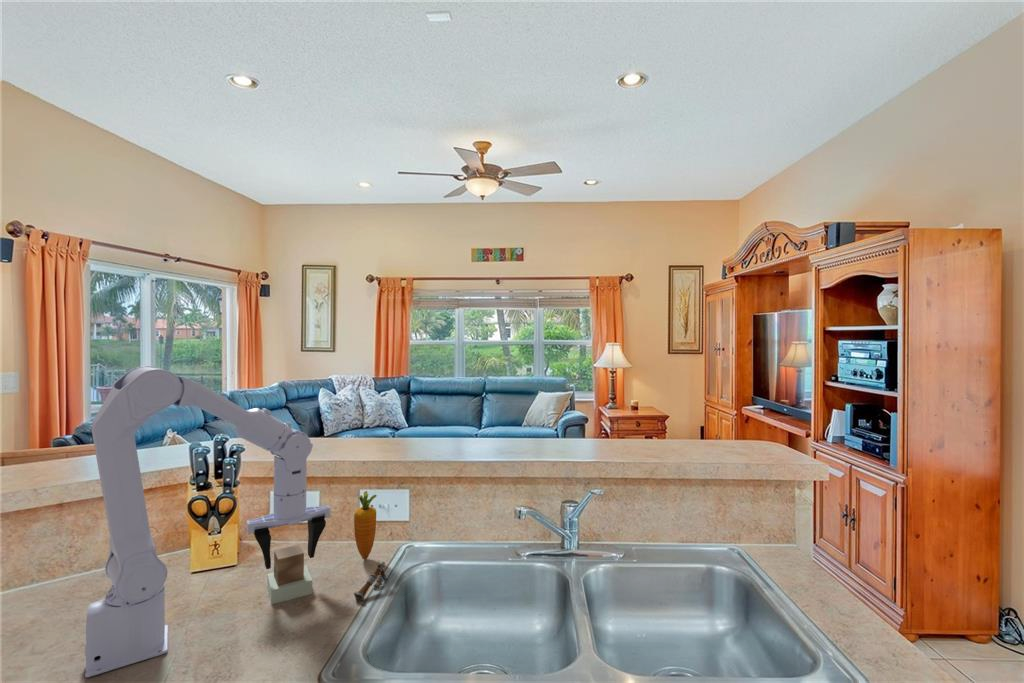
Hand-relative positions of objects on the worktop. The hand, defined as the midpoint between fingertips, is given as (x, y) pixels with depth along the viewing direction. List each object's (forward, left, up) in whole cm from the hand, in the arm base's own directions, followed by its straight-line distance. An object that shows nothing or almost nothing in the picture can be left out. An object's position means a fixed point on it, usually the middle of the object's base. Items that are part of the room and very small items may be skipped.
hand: (289, 561), depth 91 cm
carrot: (+16, +4, -6) cm, 17 cm away
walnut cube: (0, 0, -3) cm, 3 cm away
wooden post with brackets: (+13, -9, -6) cm, 17 cm away
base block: (0, 0, -6) cm, 6 cm away
